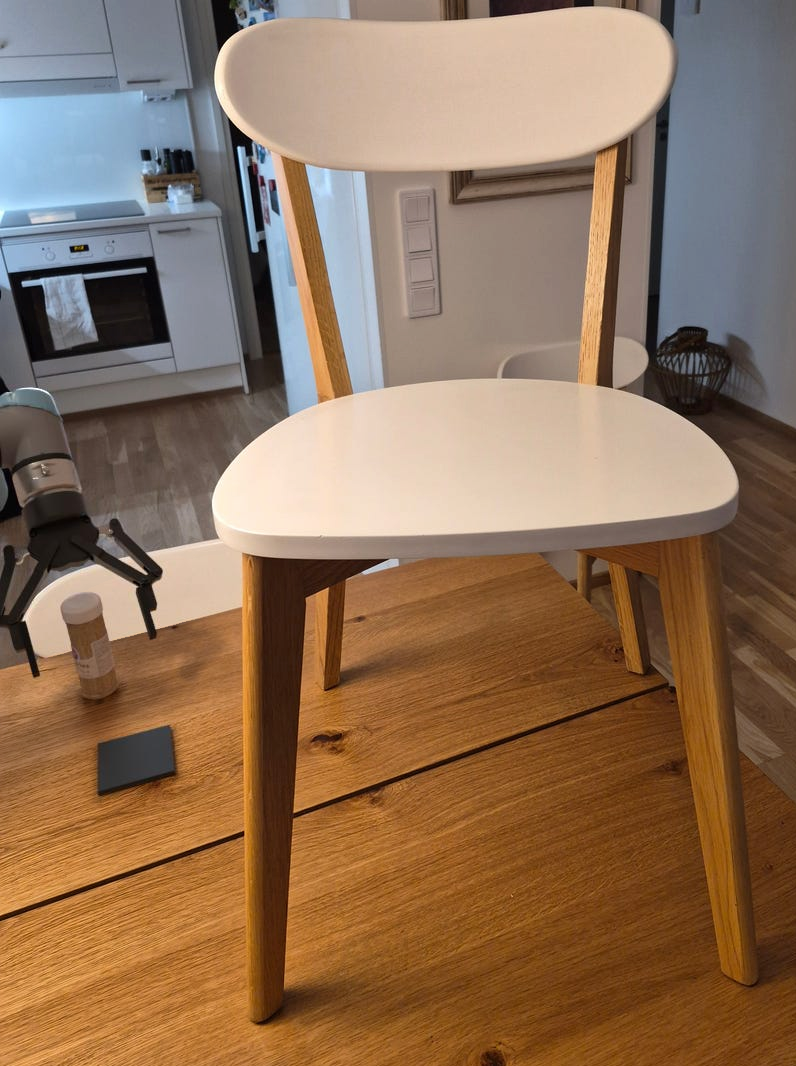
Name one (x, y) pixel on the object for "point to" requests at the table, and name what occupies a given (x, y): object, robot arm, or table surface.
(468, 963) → the table surface
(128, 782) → the mat
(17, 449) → the robot arm
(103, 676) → the sprinkles bottle
